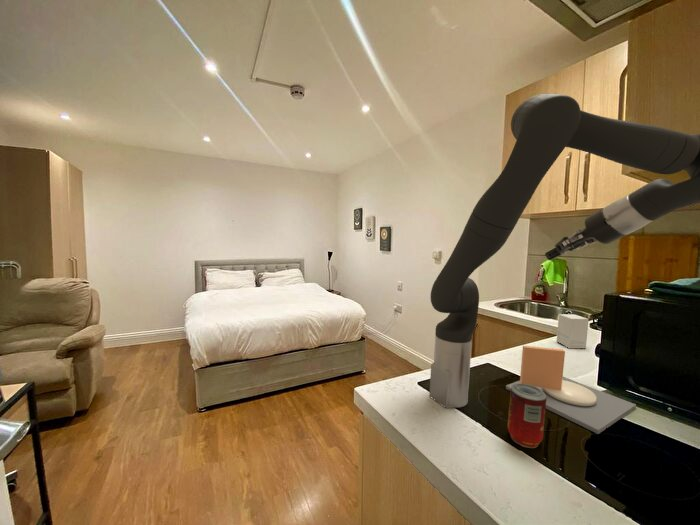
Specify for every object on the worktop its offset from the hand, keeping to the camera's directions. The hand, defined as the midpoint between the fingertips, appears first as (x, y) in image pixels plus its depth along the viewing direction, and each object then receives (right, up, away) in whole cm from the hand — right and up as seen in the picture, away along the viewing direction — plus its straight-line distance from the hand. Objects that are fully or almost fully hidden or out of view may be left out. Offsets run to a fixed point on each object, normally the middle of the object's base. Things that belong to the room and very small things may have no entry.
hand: (548, 256), depth 79 cm
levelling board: (+7, -39, +2) cm, 40 cm away
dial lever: (+4, -38, +2) cm, 38 cm away
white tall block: (+38, -37, +42) cm, 68 cm away
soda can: (-16, -41, -16) cm, 46 cm away
